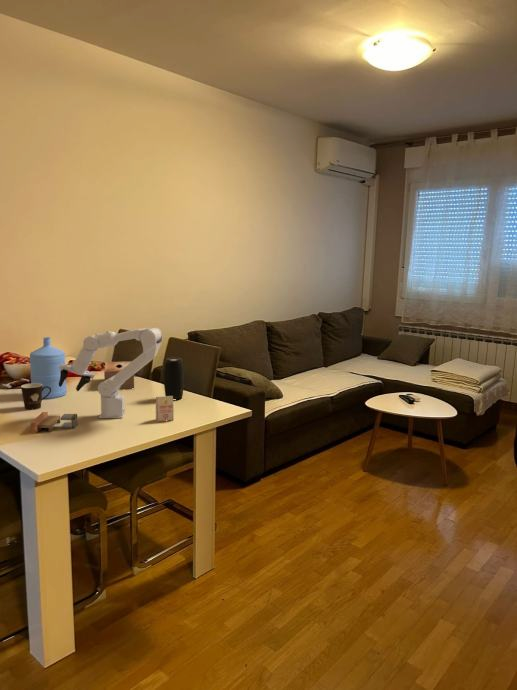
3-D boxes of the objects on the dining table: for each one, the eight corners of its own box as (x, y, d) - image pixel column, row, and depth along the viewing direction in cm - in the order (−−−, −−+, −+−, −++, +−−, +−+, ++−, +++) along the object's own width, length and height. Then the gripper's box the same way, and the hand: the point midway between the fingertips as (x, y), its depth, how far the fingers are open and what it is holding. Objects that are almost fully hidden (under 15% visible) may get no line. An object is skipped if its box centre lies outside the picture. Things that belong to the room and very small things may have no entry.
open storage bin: (77, 424, 197) (77, 413, 196) (74, 428, 192) (74, 417, 191) (64, 425, 196) (64, 413, 195) (60, 429, 191) (60, 417, 190)
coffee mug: (20, 411, 213) (19, 388, 212) (23, 405, 221) (22, 383, 220) (49, 409, 216) (48, 387, 215) (52, 404, 225) (51, 382, 223)
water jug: (58, 399, 233) (56, 340, 228) (25, 399, 233) (22, 339, 229) (71, 391, 248) (69, 335, 244) (40, 390, 248) (37, 335, 244)
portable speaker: (187, 399, 238) (187, 358, 235) (169, 402, 232) (169, 360, 229) (178, 395, 245) (178, 356, 242) (161, 398, 239) (160, 358, 236)
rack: (61, 421, 200) (60, 411, 200) (50, 432, 186) (50, 422, 186) (42, 421, 199) (42, 412, 199) (31, 433, 186) (30, 422, 185)
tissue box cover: (134, 389, 256) (133, 370, 254) (104, 390, 252) (104, 371, 250) (132, 378, 280) (132, 361, 279) (105, 379, 276) (105, 362, 275)
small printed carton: (155, 419, 205) (155, 395, 204) (172, 418, 208) (172, 394, 206) (156, 422, 202) (156, 398, 200) (173, 420, 204) (173, 397, 203)
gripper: (96, 361, 214) (82, 386, 217) (64, 351, 205) (50, 378, 208) (100, 369, 209) (86, 395, 212) (67, 359, 200) (52, 387, 203)
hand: (68, 387), depth 209 cm, fingers open, 7 cm apart
